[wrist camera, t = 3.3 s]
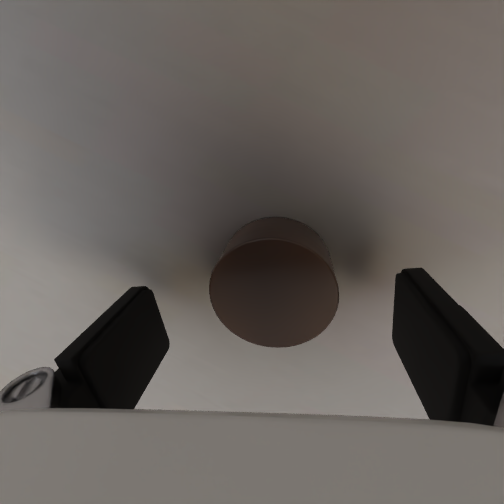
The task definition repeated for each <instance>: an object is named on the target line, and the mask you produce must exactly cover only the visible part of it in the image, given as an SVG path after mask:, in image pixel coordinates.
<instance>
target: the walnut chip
mask: <svg viewBox="0 0 504 504" xmlns="http://www.w3.org/2000/svg"><path fill="white" fill-rule="evenodd" d="M209 294H210V299H211V303H212V306H213V309H214V311H215V313H216V315H217V316H218V318H219V319H220V321H221V322H222V323H223V324H224V325H225V326H226V327H227V328H228V329H229V330H230V331H231V332H233V333H234V334H235V335H237V336H239V337H240V338H242V339H244V340H246V341H248V342H251V343H254V344H257V345H261V346H266V347H290V346H295V345H299V344H302V343H304V342H307V341H309V340H311V339H313V338H315V337H316V336H317V335H319V334H320V333H321V332H322V331H324V330H325V329H326V328H327V326H328V325H329V324H330V323H331V321H332V319H333V317H334V316H335V313H336V311H337V308H338V303H339V288H338V283H337V280H336V276H335V273H334V269H333V265H332V262H331V258H330V255H329V252H328V249H327V247H326V245H325V244H324V242H323V240H322V239H321V238H320V237H319V236H318V234H316V233H315V232H314V231H313V230H312V229H311V228H309V227H308V226H306V225H304V224H302V223H300V222H298V221H295V220H292V219H287V218H280V217H269V218H263V219H259V220H256V221H253V222H251V223H249V224H247V225H245V226H244V227H242V228H241V229H240V230H239V231H237V232H236V233H235V235H234V236H233V237H232V238H231V240H230V241H229V243H228V245H227V246H226V248H225V250H224V251H223V253H222V255H221V257H220V258H219V260H218V262H217V264H216V265H215V267H214V269H213V272H212V274H211V278H210V284H209Z"/></svg>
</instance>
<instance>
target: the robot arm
mask: <svg viewBox="0 0 504 504" xmlns="http://www.w3.org/2000/svg"><path fill="white" fill-rule="evenodd" d="M392 339H393V343H394V346H395V348H396V350H397V353H398V355H399V357H400V359H401V361H402V363H403V365H404V367H405V369H406V371H407V373H408V375H409V377H410V380H411V382H412V384H413V386H414V388H415V390H416V392H417V394H418V396H419V398H420V400H421V402H422V404H423V406H424V409H425V411H426V413H427V415H428V417H429V419H430V420H429V419H410V418H390V417H370V416H344V415H315V414H286V413H255V412H221V411H185V410H144V409H134V408H135V406H136V404H137V403H138V401H139V399H140V398H141V396H142V394H143V392H144V391H145V389H146V387H147V386H148V384H149V382H150V380H151V379H152V377H153V375H154V373H155V372H156V370H157V368H158V367H159V365H160V363H161V361H162V360H163V358H164V356H165V354H166V353H167V351H168V349H169V338H168V336H167V333H166V330H165V327H164V324H163V321H162V318H161V315H160V312H159V309H158V306H157V303H156V300H155V297H154V294H153V292H152V290H150V289H149V288H148V287H146V286H140V287H131V288H130V289H129V290H128V291H127V292H126V293H124V294H123V295H122V296H121V297H120V298H119V299H118V300H117V301H116V302H115V303H114V304H113V305H112V306H111V307H110V308H109V309H107V310H106V311H105V312H104V313H103V314H102V315H101V316H100V317H99V318H98V319H97V320H96V321H95V322H94V323H93V324H92V325H90V326H89V327H88V328H87V329H86V330H85V331H84V332H83V333H82V334H81V335H80V336H79V337H78V338H77V339H76V340H75V341H73V342H72V343H71V344H70V345H69V346H68V347H67V348H66V349H65V350H64V351H63V352H62V353H61V354H60V355H59V356H57V357H56V358H55V359H54V360H55V362H56V364H57V366H58V367H59V369H58V370H57V371H56V372H54V371H53V369H51V368H50V367H41V368H36V369H34V370H31V371H28V372H26V373H24V374H22V375H20V376H19V377H17V378H16V379H14V380H13V381H11V382H10V383H9V384H7V385H6V386H5V387H4V388H3V389H2V390H1V391H0V504H504V349H503V348H502V347H501V346H500V345H499V344H498V343H497V342H496V341H495V340H494V339H493V338H492V337H491V336H490V335H489V334H488V333H487V332H486V331H485V330H484V329H483V328H482V327H481V325H480V324H479V323H478V322H477V321H476V320H475V319H474V318H473V317H472V316H471V315H470V314H469V313H468V312H467V311H466V310H465V309H464V308H463V307H461V306H460V305H458V304H457V303H456V302H455V301H454V300H453V299H452V298H451V297H450V296H449V295H448V294H447V293H446V292H445V291H444V290H443V289H442V288H441V286H440V285H439V284H438V283H437V282H436V281H435V280H434V279H433V278H432V277H431V276H430V275H429V274H428V273H427V272H426V271H425V270H424V269H423V268H410V269H403V270H402V271H401V273H397V274H396V280H395V296H394V313H393V330H392Z"/></svg>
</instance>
